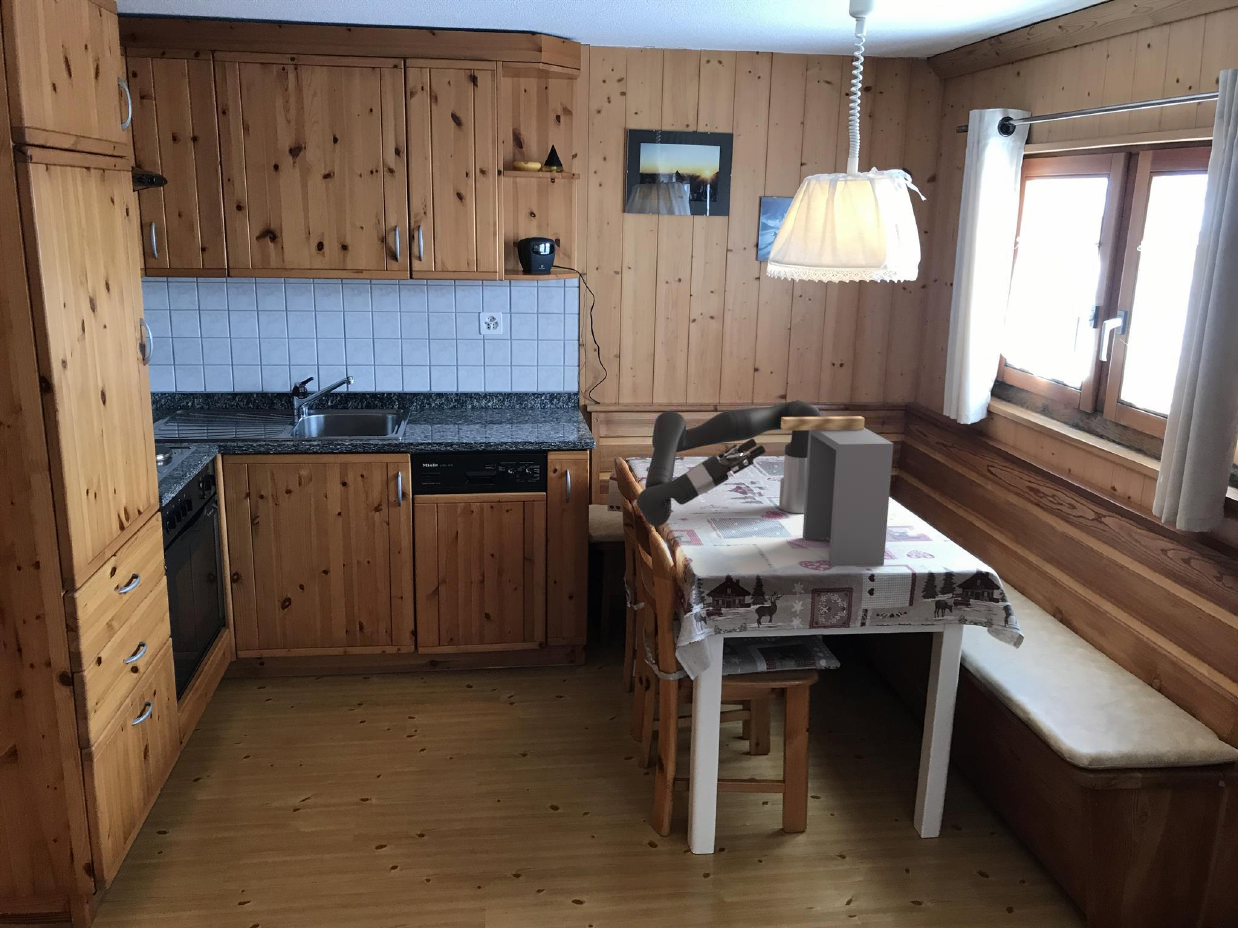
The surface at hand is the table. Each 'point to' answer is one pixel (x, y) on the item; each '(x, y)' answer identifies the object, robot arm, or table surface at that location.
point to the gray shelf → (848, 494)
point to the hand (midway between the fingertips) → (759, 444)
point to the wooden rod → (822, 423)
